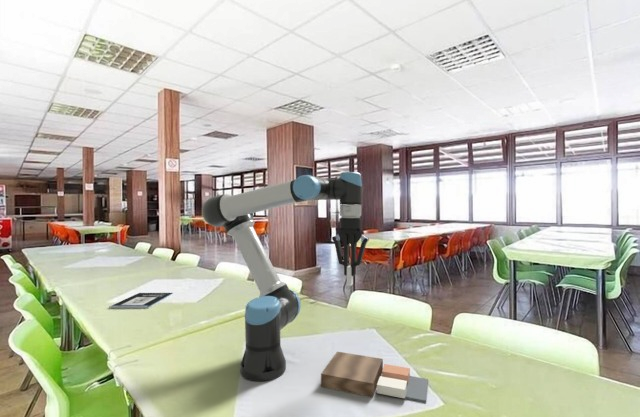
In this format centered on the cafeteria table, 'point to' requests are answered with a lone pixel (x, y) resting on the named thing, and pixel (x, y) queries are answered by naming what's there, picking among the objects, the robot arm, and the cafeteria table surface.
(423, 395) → the mat
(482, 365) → the cafeteria table surface
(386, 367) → the terracotta tile
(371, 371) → the deck
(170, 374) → the cafeteria table surface
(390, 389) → the cream tile
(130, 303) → the picture frame
